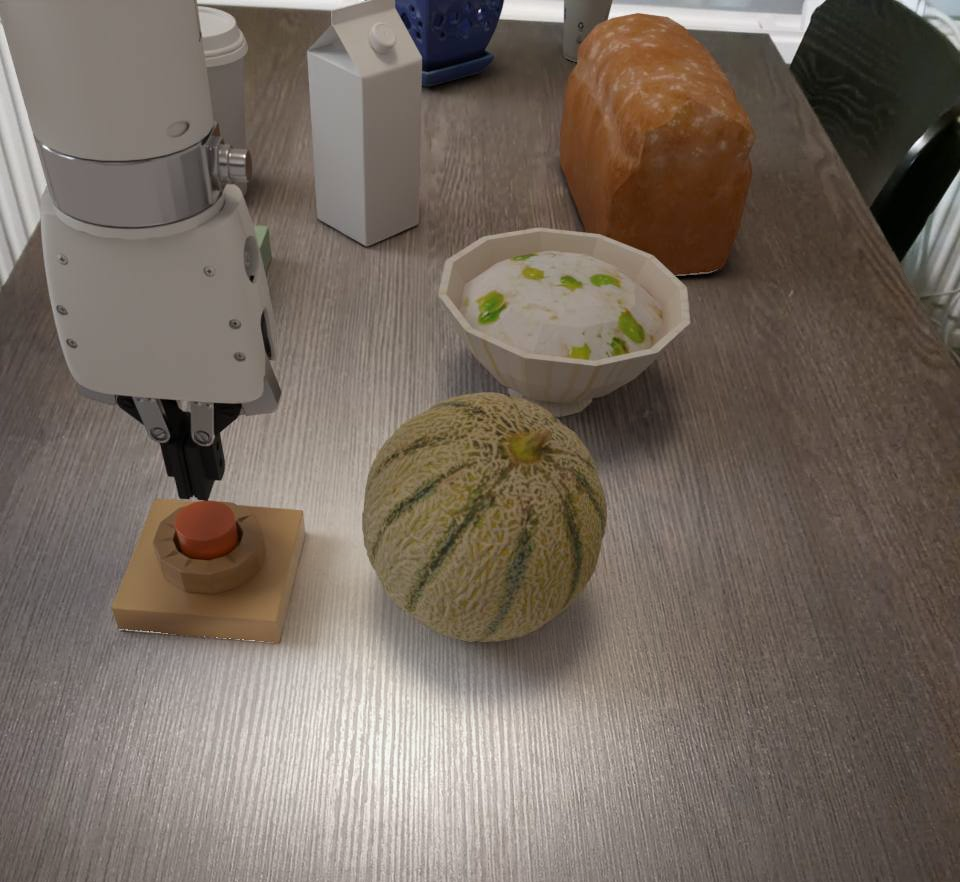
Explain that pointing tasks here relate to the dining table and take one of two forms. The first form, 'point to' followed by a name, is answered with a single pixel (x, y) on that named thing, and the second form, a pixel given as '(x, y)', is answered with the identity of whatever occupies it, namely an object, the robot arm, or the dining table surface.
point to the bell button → (206, 530)
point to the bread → (656, 143)
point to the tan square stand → (213, 577)
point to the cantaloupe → (484, 517)
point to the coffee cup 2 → (581, 22)
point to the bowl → (562, 312)
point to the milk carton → (366, 122)
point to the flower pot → (450, 35)
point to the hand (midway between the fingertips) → (199, 483)
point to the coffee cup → (225, 75)
